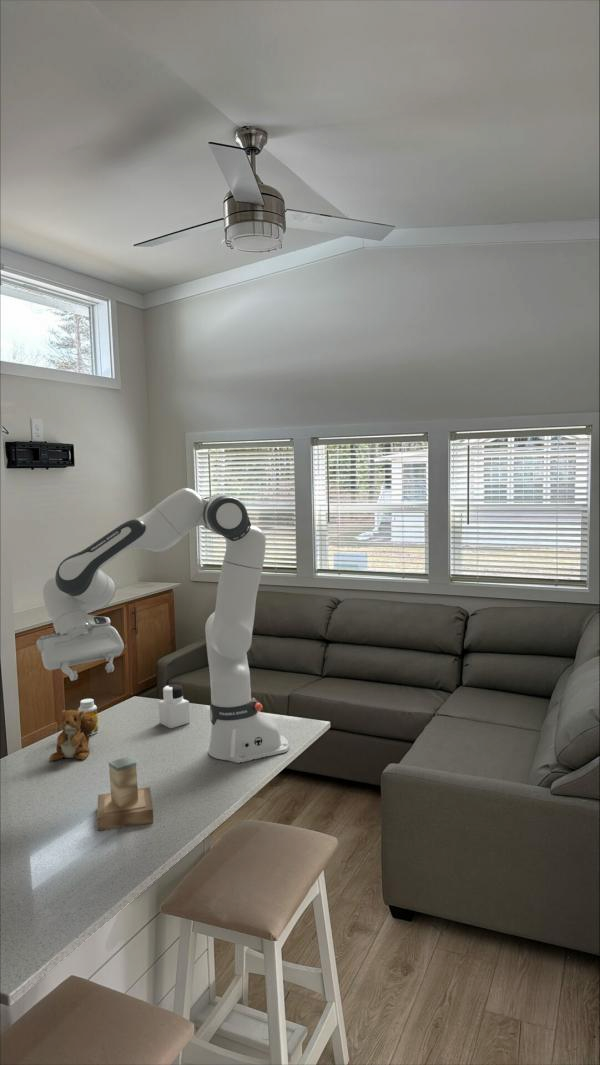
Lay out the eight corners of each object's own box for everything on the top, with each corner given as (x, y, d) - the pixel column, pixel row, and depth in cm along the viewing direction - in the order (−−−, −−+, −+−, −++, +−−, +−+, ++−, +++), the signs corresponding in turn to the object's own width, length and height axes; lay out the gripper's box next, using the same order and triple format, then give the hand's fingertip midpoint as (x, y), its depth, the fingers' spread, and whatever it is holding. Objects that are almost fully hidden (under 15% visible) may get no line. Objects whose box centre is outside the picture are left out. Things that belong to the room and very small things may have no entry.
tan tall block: (129, 794, 166) (127, 756, 165) (138, 800, 162) (136, 762, 161) (111, 800, 163) (108, 762, 162) (120, 807, 159) (117, 768, 159)
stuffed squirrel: (47, 762, 195) (44, 716, 194) (71, 743, 209) (67, 699, 208) (81, 763, 194) (78, 716, 193) (102, 743, 208) (100, 700, 207)
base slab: (150, 799, 170) (149, 786, 170) (153, 822, 158) (152, 808, 158) (99, 807, 167) (98, 793, 167) (97, 831, 155) (96, 816, 155)
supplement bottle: (98, 734, 215) (96, 702, 214) (79, 737, 214) (76, 704, 213) (98, 728, 221) (96, 696, 220) (80, 731, 219) (77, 698, 218)
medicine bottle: (179, 717, 228) (177, 681, 227) (190, 723, 222) (188, 685, 221) (159, 723, 223) (157, 686, 222) (170, 728, 218) (168, 690, 217)
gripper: (36, 630, 173) (54, 676, 166) (114, 616, 186) (134, 659, 179) (31, 645, 177) (48, 691, 170) (108, 630, 190) (127, 673, 183)
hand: (93, 674), depth 175 cm, fingers open, 8 cm apart
